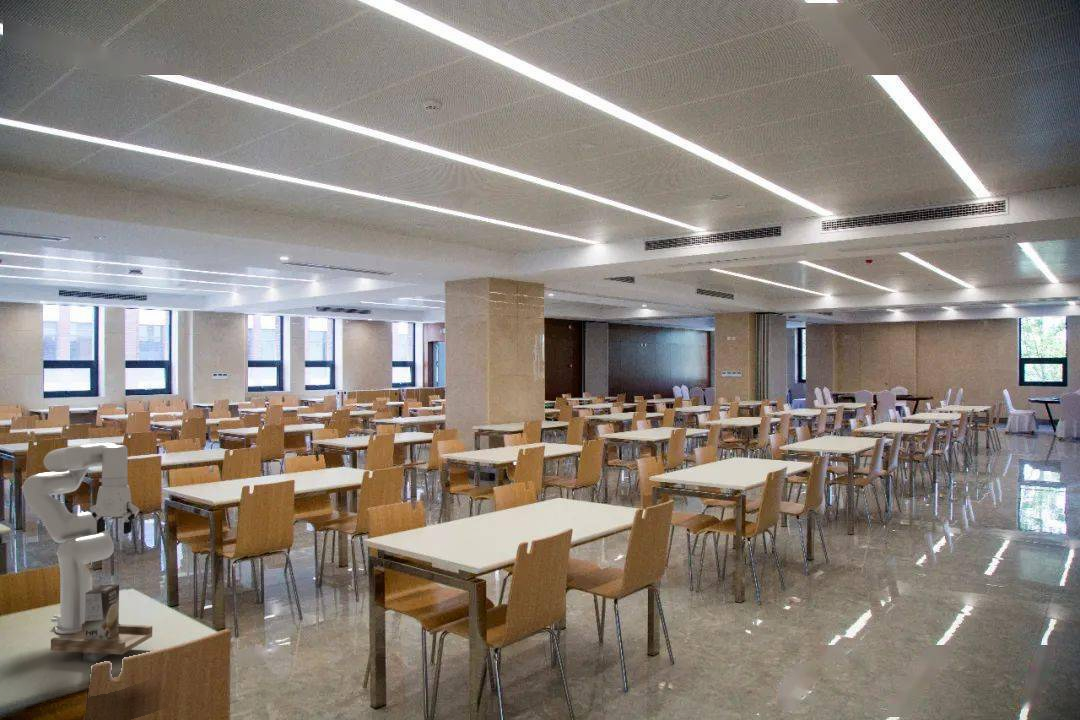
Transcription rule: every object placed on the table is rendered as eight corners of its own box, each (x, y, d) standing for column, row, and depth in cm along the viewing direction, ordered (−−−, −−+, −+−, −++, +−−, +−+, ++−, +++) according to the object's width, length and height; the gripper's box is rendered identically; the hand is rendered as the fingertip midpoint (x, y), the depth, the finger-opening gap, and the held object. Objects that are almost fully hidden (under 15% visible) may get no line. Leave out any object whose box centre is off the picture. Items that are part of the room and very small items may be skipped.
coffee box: (105, 643, 236) (105, 593, 236) (83, 644, 235) (84, 593, 235) (119, 633, 245) (119, 584, 245) (99, 633, 244) (99, 584, 244)
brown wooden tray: (50, 661, 234) (50, 638, 234) (85, 643, 249) (85, 621, 249) (121, 665, 231) (122, 642, 231) (152, 647, 246) (152, 625, 246)
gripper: (83, 483, 250) (82, 534, 250) (131, 484, 248) (130, 536, 248) (98, 479, 257) (98, 529, 257) (145, 480, 255) (145, 530, 255)
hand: (114, 532), depth 252 cm, fingers open, 9 cm apart
